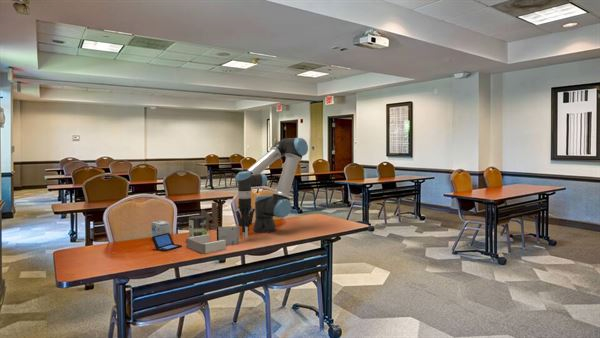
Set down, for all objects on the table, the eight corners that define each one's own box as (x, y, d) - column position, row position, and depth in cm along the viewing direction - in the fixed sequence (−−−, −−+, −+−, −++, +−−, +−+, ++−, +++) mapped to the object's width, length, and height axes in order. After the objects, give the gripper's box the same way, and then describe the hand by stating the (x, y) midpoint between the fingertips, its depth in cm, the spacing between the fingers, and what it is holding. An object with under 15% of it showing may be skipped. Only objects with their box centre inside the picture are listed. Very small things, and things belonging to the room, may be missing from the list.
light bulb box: (151, 239, 236) (151, 221, 236) (162, 237, 241) (161, 220, 241) (160, 242, 229) (159, 223, 229) (170, 239, 234) (170, 222, 233)
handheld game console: (165, 252, 206) (164, 238, 206) (151, 250, 211) (150, 236, 211) (183, 247, 217) (182, 234, 216) (169, 245, 222) (168, 232, 222)
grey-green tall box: (210, 238, 236) (209, 215, 235) (201, 242, 226) (200, 218, 225) (195, 237, 239) (194, 214, 238) (185, 241, 229) (185, 217, 228)
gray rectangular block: (239, 241, 227) (238, 224, 227) (242, 243, 223) (242, 226, 222) (215, 244, 221) (215, 227, 220) (218, 246, 216) (218, 228, 215)
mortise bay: (208, 242, 225) (208, 234, 225) (225, 249, 210) (225, 240, 209) (186, 246, 216) (186, 238, 216) (202, 253, 201) (202, 244, 201)
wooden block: (201, 230, 261) (201, 203, 260) (216, 227, 268) (215, 202, 267) (204, 231, 258) (203, 204, 257) (218, 228, 265) (218, 202, 264)
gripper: (238, 199, 221) (239, 240, 222) (257, 197, 230) (258, 236, 231) (231, 198, 227) (232, 238, 228) (250, 196, 235) (251, 234, 236)
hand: (245, 237), depth 229 cm, fingers closed
